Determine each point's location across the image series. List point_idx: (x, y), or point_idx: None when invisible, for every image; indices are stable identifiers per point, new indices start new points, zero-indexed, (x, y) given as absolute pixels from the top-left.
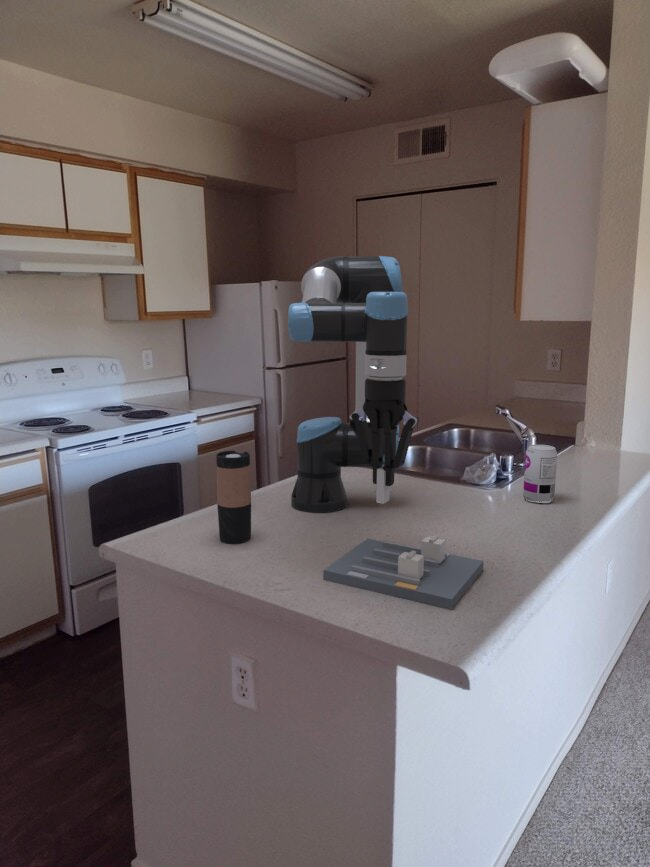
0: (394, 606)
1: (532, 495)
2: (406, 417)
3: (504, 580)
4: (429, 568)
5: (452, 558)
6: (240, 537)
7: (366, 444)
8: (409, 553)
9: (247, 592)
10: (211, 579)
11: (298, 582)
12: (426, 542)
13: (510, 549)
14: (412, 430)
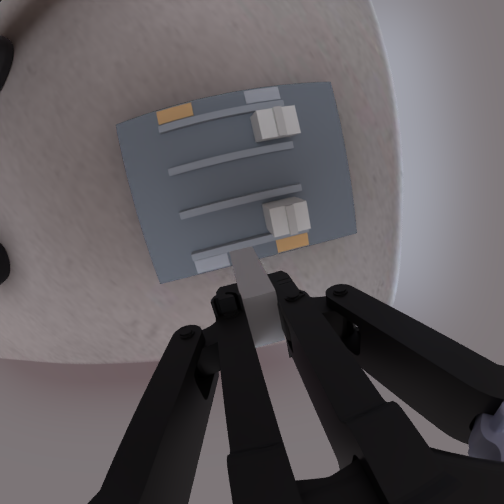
0: (291, 271)
1: None
2: (501, 458)
3: (360, 103)
4: (283, 159)
5: (289, 99)
6: (5, 271)
7: (202, 429)
8: (290, 223)
9: (134, 358)
10: (84, 359)
11: (147, 305)
12: (272, 137)
13: (310, 3)
14: (487, 368)
